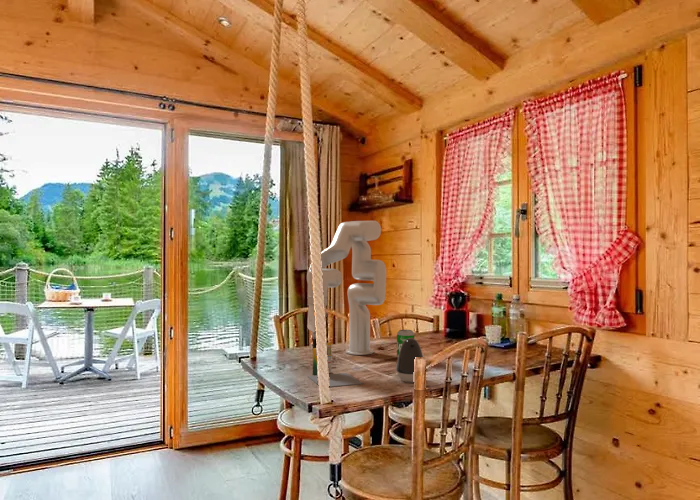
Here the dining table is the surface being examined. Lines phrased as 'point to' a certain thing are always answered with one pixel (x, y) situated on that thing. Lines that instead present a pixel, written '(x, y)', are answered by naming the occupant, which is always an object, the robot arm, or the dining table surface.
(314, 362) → the crayon box
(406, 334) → the soda can
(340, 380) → the mat
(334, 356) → the dining table surface
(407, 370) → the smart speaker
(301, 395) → the dining table surface
